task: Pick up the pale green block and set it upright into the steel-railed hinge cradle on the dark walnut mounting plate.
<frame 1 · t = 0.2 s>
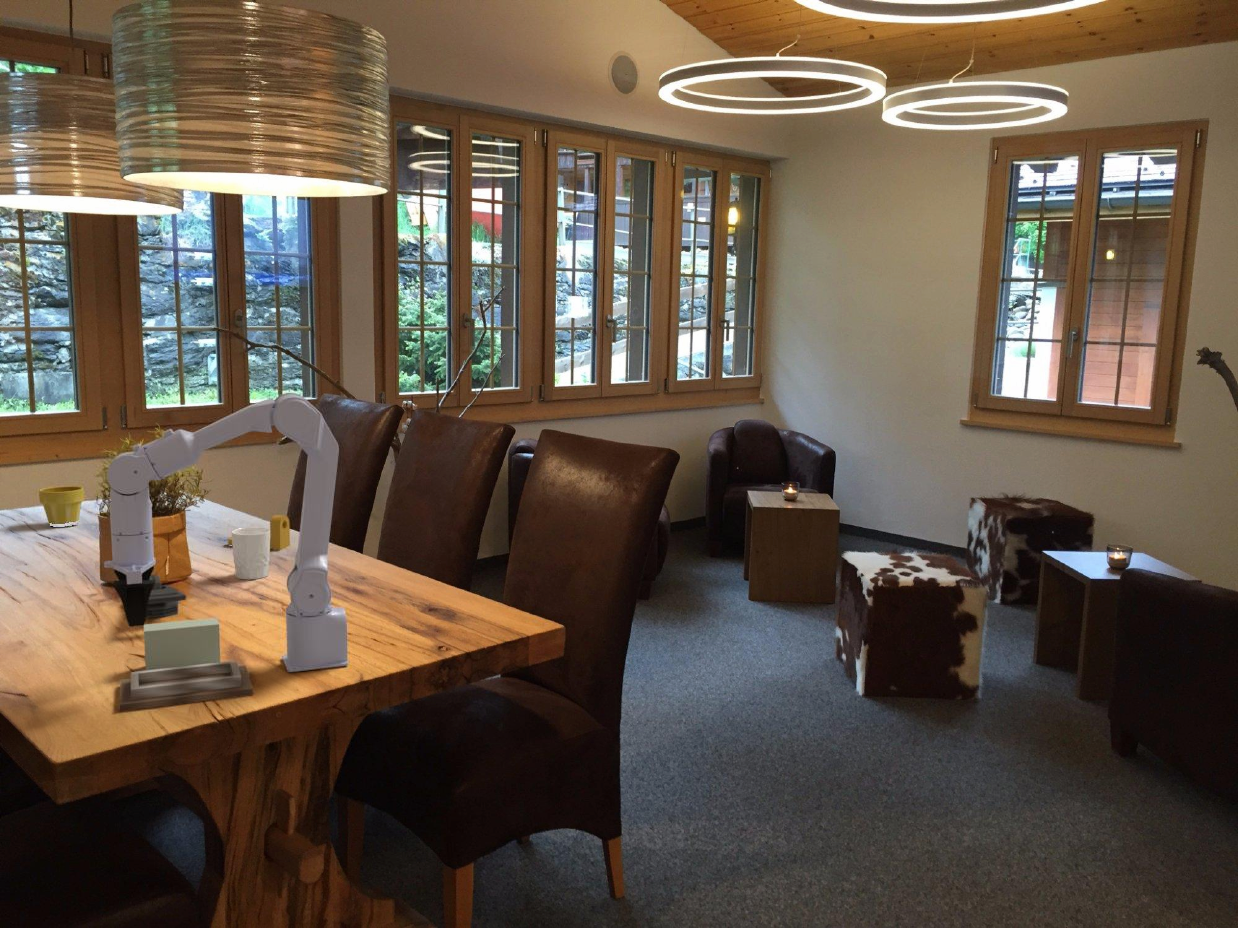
hand: (136, 618, 157), 10 cm above the table, tool pointing down, fingers open, 7 cm apart
white cup: (252, 576, 222), on the table
plant pot: (63, 526, 269), on the table
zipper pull: (158, 616, 193), on the table
bracket: (257, 548, 250), on the table
mounting plate: (186, 690, 155), on the table
pale green block: (183, 666, 165), on the table
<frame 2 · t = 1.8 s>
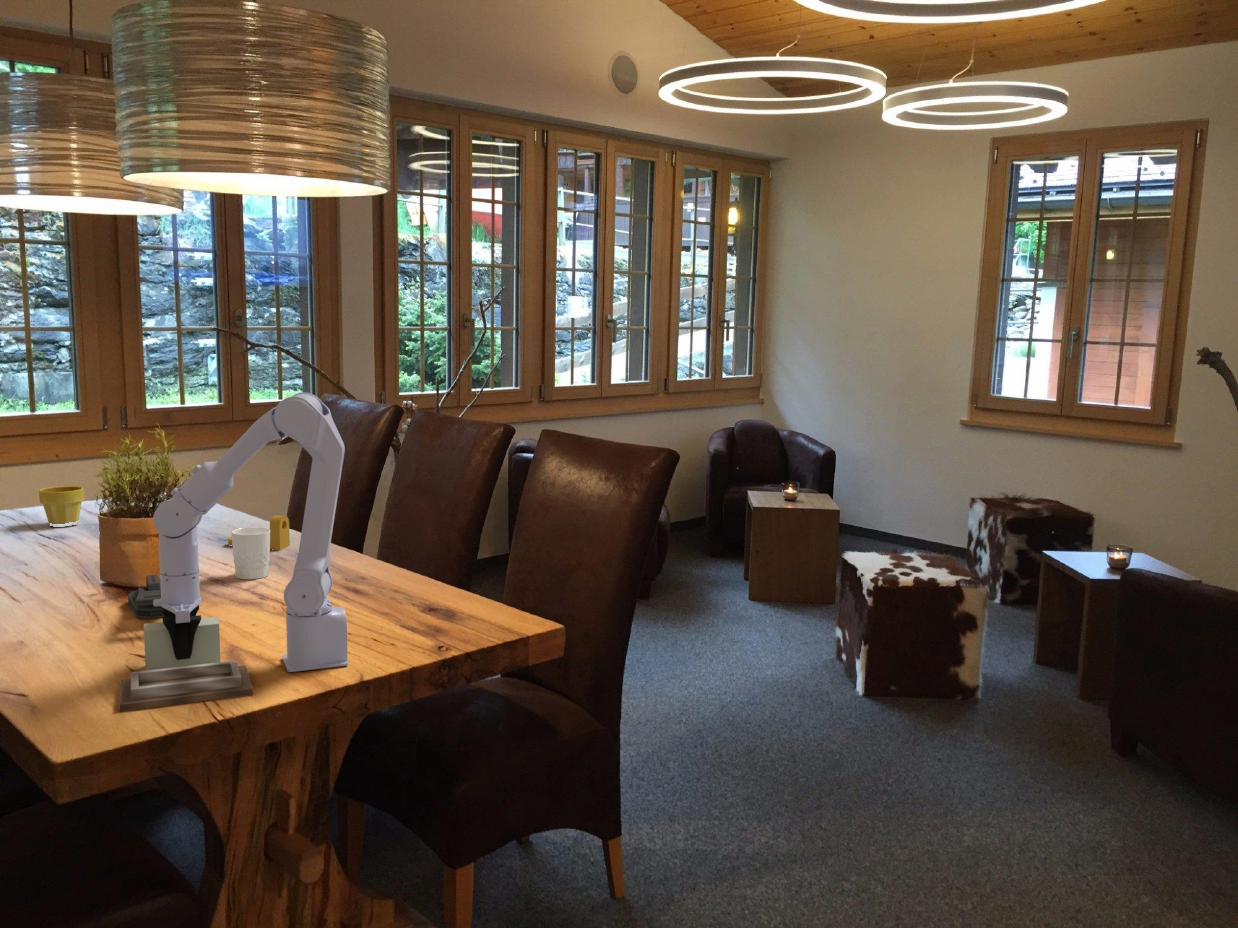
hand: (182, 654, 165), 2 cm above the table, tool pointing down, fingers closed on pale green block, 4 cm apart
pale green block: (183, 665, 165), on the table, touching gripper
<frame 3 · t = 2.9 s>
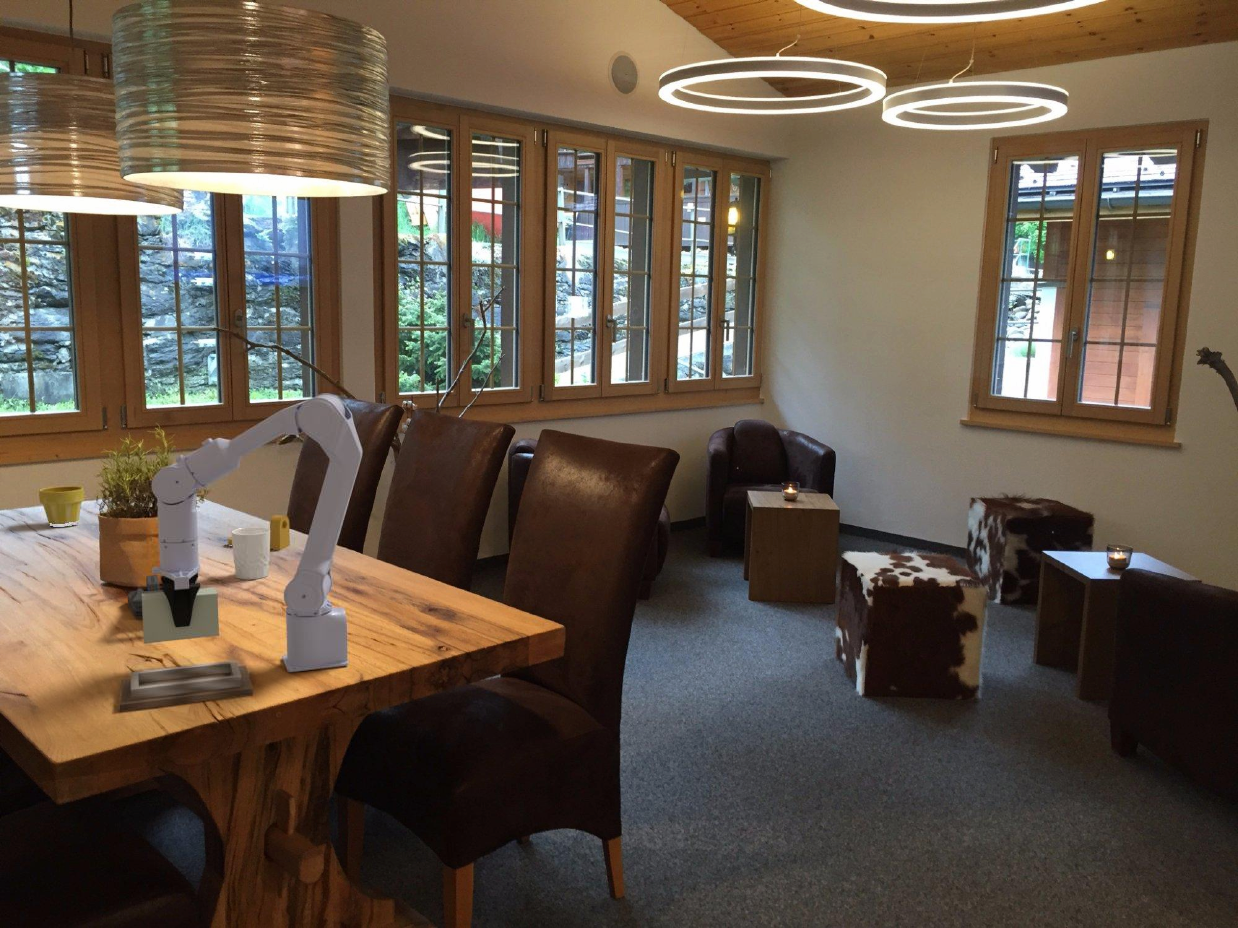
hand: (181, 622, 164), 7 cm above the table, tool pointing down, fingers closed on pale green block, 4 cm apart
pale green block: (181, 635, 165), point 5 cm above the table, touching gripper
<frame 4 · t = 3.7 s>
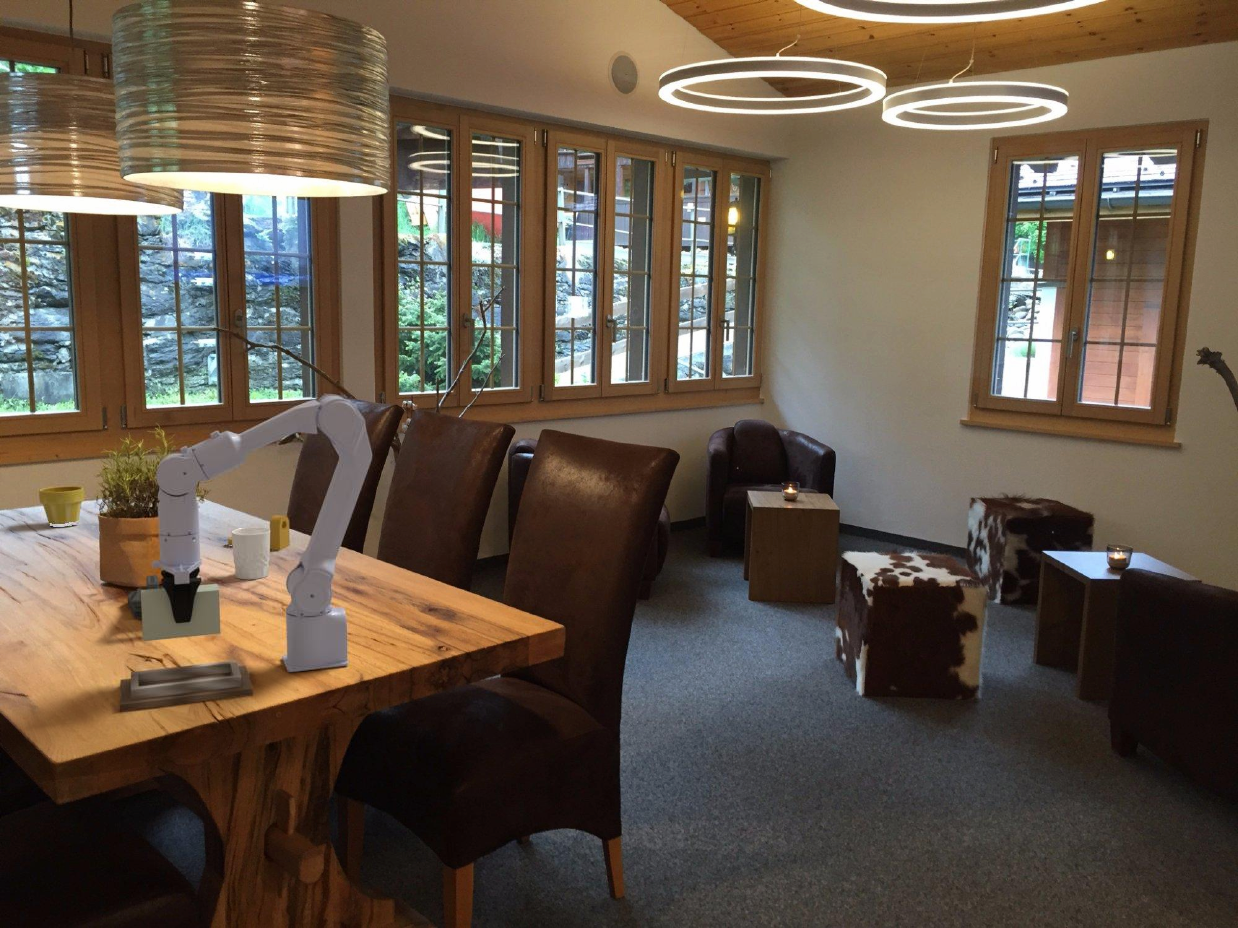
hand: (182, 618, 159), 9 cm above the table, tool pointing down, fingers closed on pale green block, 4 cm apart
pale green block: (181, 633, 160), point 7 cm above the table, touching gripper
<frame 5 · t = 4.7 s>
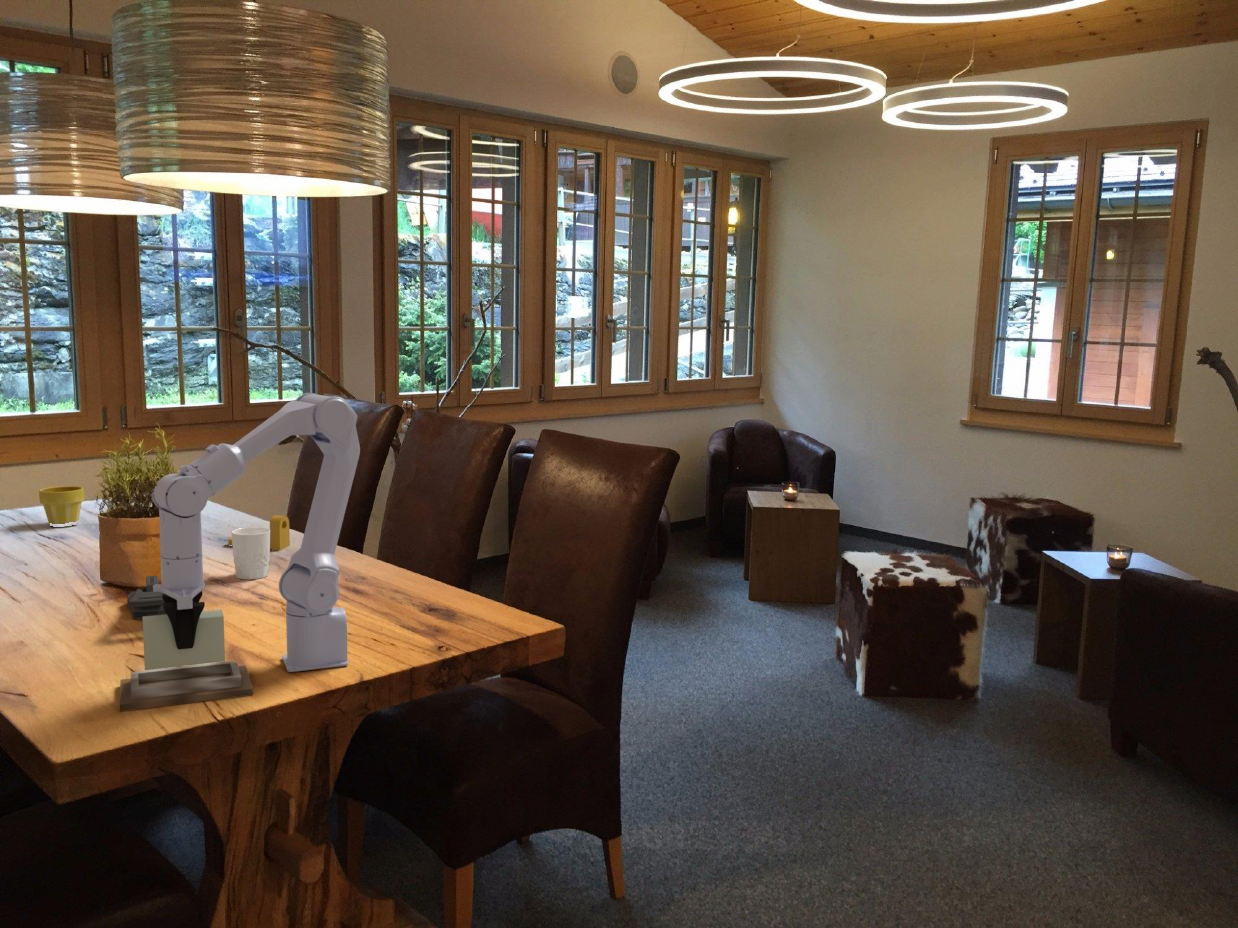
hand: (184, 643, 154), 7 cm above the table, tool pointing down, fingers closed on pale green block, 4 cm apart
pale green block: (184, 661, 154), point 5 cm above the table, touching gripper
when the fingers open (4 cm above the table, at t = 5.7 s): pale green block stays where it is, resting on mounting plate.
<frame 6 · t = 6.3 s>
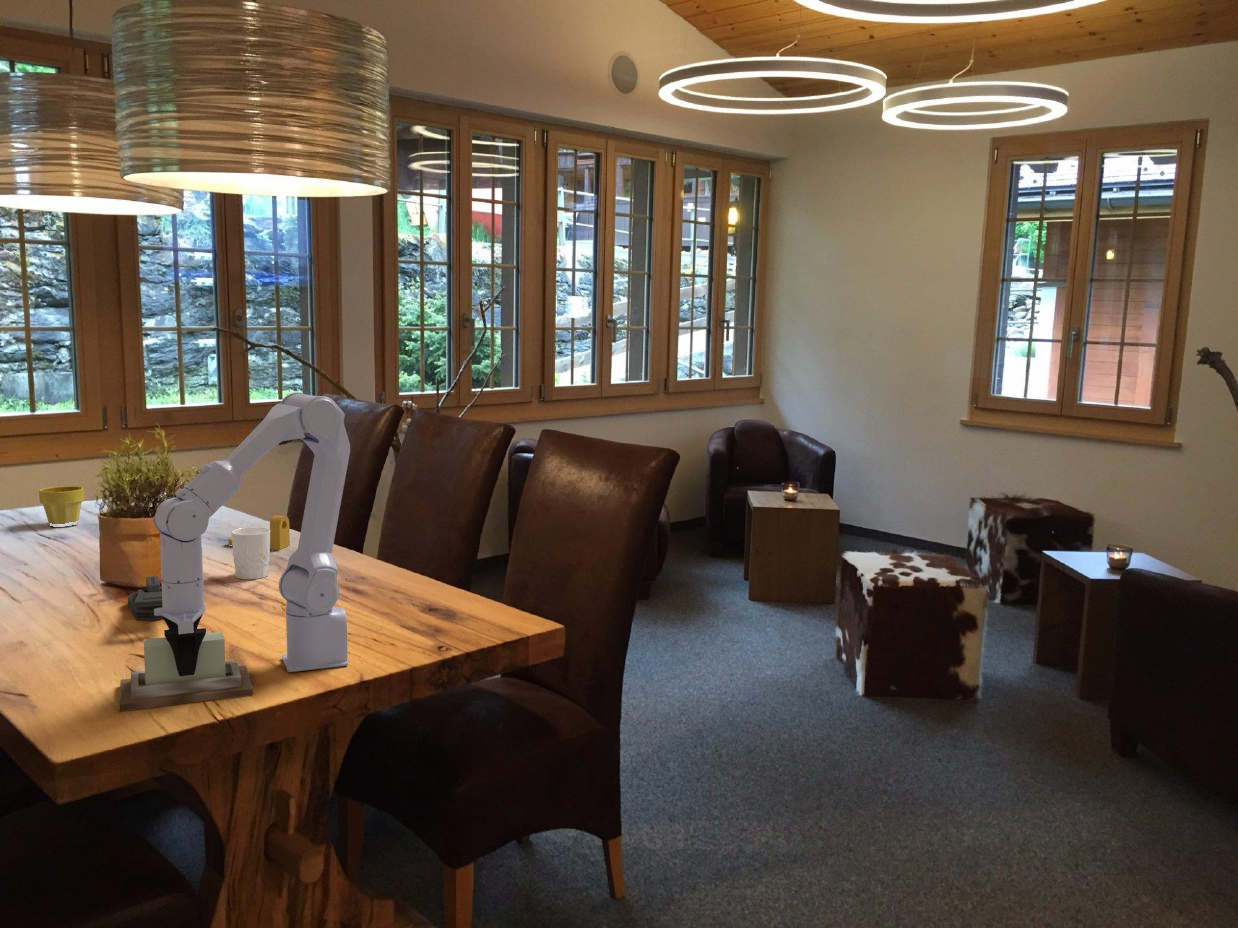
hand: (185, 666, 154), 4 cm above the table, tool pointing down, fingers open, 7 cm apart
pale green block: (185, 684, 154), point 1 cm above the table, touching mounting plate
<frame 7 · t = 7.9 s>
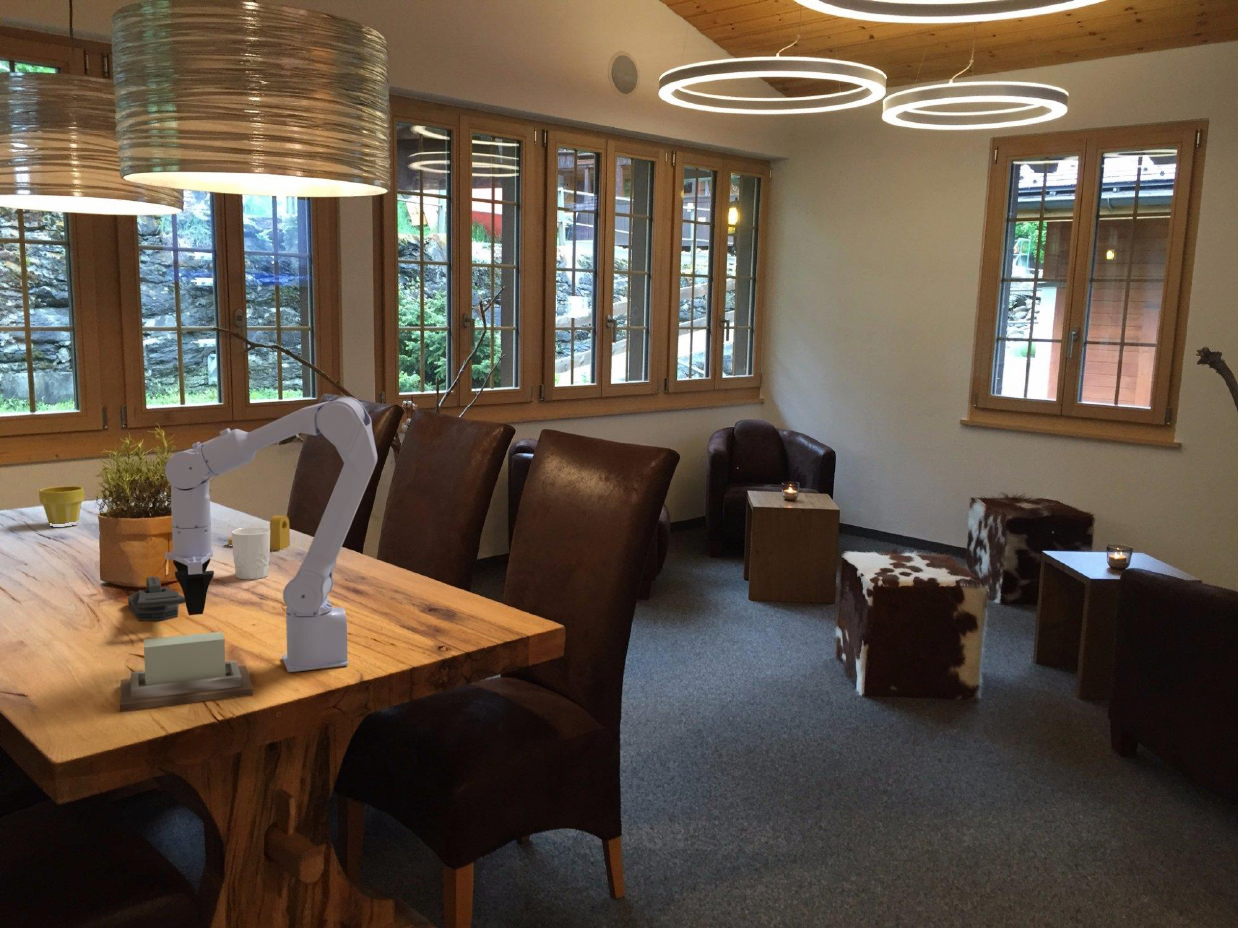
hand: (194, 607, 165), 9 cm above the table, tool pointing down, fingers open, 7 cm apart
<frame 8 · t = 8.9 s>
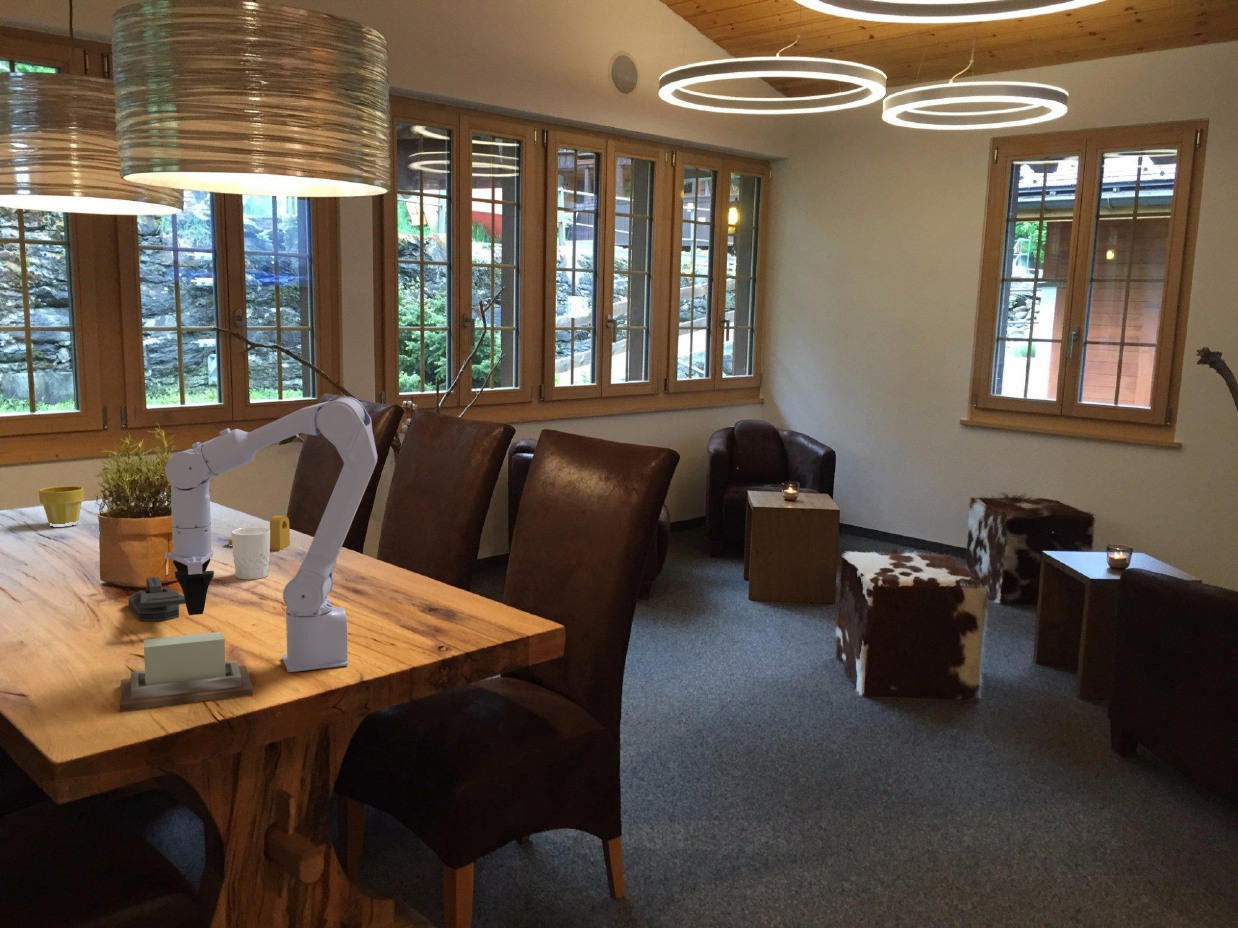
hand: (194, 607, 165), 9 cm above the table, tool pointing down, fingers open, 7 cm apart
at the end: pale green block 0.1 cm off-centre on the mounting plate, point 1.0 cm above the mounting plate's base; pale green block tilted 0°; the gripper is holding nothing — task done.
